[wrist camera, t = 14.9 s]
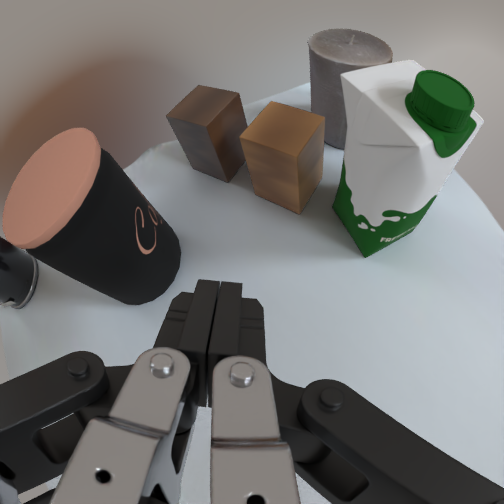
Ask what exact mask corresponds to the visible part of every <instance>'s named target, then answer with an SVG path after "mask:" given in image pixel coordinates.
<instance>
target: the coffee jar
mask: <svg viewBox="0 0 504 504" xmlns="http://www.w3.org/2000/svg"><path fill="white" fill-rule="evenodd" d="M3 231H4V234H5V236H6V239H7V241H9V242H10V243H12V244H13V245H15V246H16V247H18V248H21V249H26V251H27V252H28V253H29V254H30V255H32V256H33V257H35V258H36V259H38V260H40V261H42V262H43V263H45V264H47V265H49V266H51V267H52V268H54V269H56V270H58V271H60V272H62V273H64V274H66V275H67V276H69V277H71V278H73V279H75V280H77V281H79V282H81V283H83V284H85V285H87V286H89V287H91V288H93V289H95V290H97V291H99V292H102V293H104V294H106V295H108V296H110V297H112V298H114V299H116V300H119V301H121V302H123V303H125V304H131V305H140V304H144V303H147V302H150V301H153V300H155V299H156V298H157V297H159V296H160V295H162V294H163V293H164V292H165V291H166V290H167V289H168V287H169V286H170V285H171V284H172V282H173V281H174V279H175V276H176V274H177V272H178V269H179V265H180V257H181V250H180V245H179V240H178V238H177V236H176V235H175V233H174V231H173V229H172V228H171V227H170V226H169V225H168V224H167V222H166V221H165V220H164V219H163V218H162V217H161V215H160V214H159V213H158V212H157V211H156V210H155V208H154V207H153V206H152V205H151V204H150V202H149V201H148V200H147V199H146V198H145V196H144V195H143V194H142V193H141V192H140V190H139V189H138V188H137V187H136V186H135V184H134V183H133V182H132V181H131V180H130V178H129V177H128V176H127V175H126V173H125V172H124V171H123V170H122V168H121V167H120V166H119V165H118V164H117V162H116V161H115V160H114V159H113V157H112V156H111V155H110V154H109V153H108V152H107V151H105V150H103V149H102V148H100V146H99V143H98V141H97V139H96V137H95V135H94V134H93V133H92V132H90V131H89V130H87V129H85V128H72V129H70V130H67V131H64V132H62V133H60V134H58V135H57V136H55V137H53V138H52V139H50V140H49V141H47V142H46V143H45V144H44V145H43V146H42V147H41V148H40V149H39V150H37V151H36V152H35V153H34V154H33V155H32V157H31V158H30V159H29V160H28V162H27V163H26V164H25V165H24V167H23V168H22V170H21V171H20V173H19V174H18V176H17V178H16V179H15V181H14V183H13V185H12V187H11V189H10V192H9V194H8V197H7V199H6V203H5V207H4V212H3Z"/></svg>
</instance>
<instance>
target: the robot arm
mask: <svg viewBox="0 0 504 504" xmlns="http://www.w3.org/2000/svg"><path fill="white" fill-rule="evenodd" d="M37 276H38V267H37V262H36V259H35V258H34V257H33V256H32V255H30V254H29V253H27V252H24V251H23V250H21V249H19V248H18V247H16V246H15V245H13V244H11V243H10V242H8V241H6V240H5V239H3V238H1V237H0V302H2V303H3V304H0V305H2V306H4V307H5V306H11V307H13V308H16V309H19V308H22V307H23V306H25V305H26V304H27V303H28V301H29V300H30V298H31V296H32V294H33V292H34V289H35V286H36V282H37ZM207 397H208V407H211V408H212V419H211V458H210V498H211V504H301V502H300V497H299V491H298V486H297V480H296V475H295V472H296V473H297V474H298V475H299V476H300V477H301V478H302V479H303V480H305V481H306V482H307V483H308V484H309V485H310V486H311V487H313V488H314V489H315V490H316V491H317V492H318V493H320V494H321V495H322V496H323V497H324V498H326V499H327V500H328V501H329V502H331V503H332V504H504V488H503V487H501V486H499V485H497V484H496V483H494V482H492V481H490V480H489V479H487V478H485V477H483V476H482V475H480V474H478V473H477V472H475V471H473V470H472V469H470V468H468V467H467V466H465V465H464V464H462V463H460V462H459V461H457V460H455V459H454V458H452V457H451V456H449V455H447V454H446V453H444V452H443V451H441V450H440V449H438V448H437V447H435V446H433V445H432V444H430V443H429V442H427V441H426V440H424V439H423V438H421V437H420V436H418V435H417V434H415V433H414V432H412V431H411V430H409V429H408V428H406V427H405V426H403V425H402V424H401V423H399V422H398V421H396V420H395V419H393V418H392V417H390V416H389V415H387V414H386V413H385V412H383V411H382V410H380V409H379V408H378V407H376V406H375V405H373V404H372V403H370V402H369V401H368V400H366V399H365V398H364V397H362V396H361V395H359V394H358V393H357V392H355V391H354V390H352V389H351V388H350V387H348V386H347V385H345V384H343V383H341V382H339V381H336V380H330V379H322V380H317V381H314V382H312V383H310V384H309V385H308V386H306V388H302V387H298V386H294V385H291V384H288V383H285V382H283V381H281V380H279V379H278V378H276V377H275V376H274V375H273V374H272V373H271V372H270V371H269V369H268V367H267V364H266V349H265V329H264V310H263V307H262V306H261V304H260V303H259V301H258V300H257V299H252V298H242V283H234V282H223V281H221V285H220V281H212V280H201V279H199V280H198V282H197V285H196V288H195V291H194V293H188V292H181V293H180V294H179V295H178V296H176V297H175V298H174V299H173V300H172V302H171V304H170V307H169V310H168V312H167V314H166V317H165V319H164V321H163V324H162V326H161V329H160V331H159V334H158V336H157V339H156V341H155V344H154V346H153V348H152V349H149V350H147V351H145V352H144V353H142V354H141V355H140V356H139V357H138V359H137V360H136V362H135V364H132V365H127V366H112V367H105V366H104V363H103V361H102V359H101V358H100V357H99V356H97V355H96V354H94V353H91V352H87V351H77V352H73V353H70V354H68V355H65V356H63V357H61V358H59V359H57V360H54V361H52V362H50V363H48V364H46V365H43V366H41V367H39V368H37V369H34V370H32V371H30V372H28V373H25V374H23V375H21V376H19V377H16V378H14V379H12V380H10V381H7V382H5V383H3V384H0V504H21V502H20V500H19V498H18V494H21V493H23V492H25V491H27V490H30V489H32V488H34V487H36V486H38V485H41V484H42V483H45V482H47V481H49V480H51V479H53V478H55V477H57V476H59V475H61V474H62V476H61V478H60V481H59V483H58V485H57V487H56V488H54V489H51V490H49V491H47V492H45V493H44V494H42V495H40V496H38V497H36V498H34V499H32V500H30V501H28V502H26V503H24V504H179V500H180V493H181V479H182V474H183V470H184V466H185V463H186V459H187V455H188V451H189V447H190V443H191V439H192V435H193V431H194V427H195V424H194V422H195V420H196V415H197V408H198V406H201V407H206V404H207ZM72 413H74V414H72ZM70 414H72V415H70ZM68 415H70V416H68ZM66 416H68V417H66ZM64 417H66V418H64ZM62 418H64V419H62ZM60 419H62V420H60ZM58 420H60V421H58ZM56 421H58V422H56ZM54 422H56V423H54ZM52 423H54V424H52ZM50 424H52V425H50ZM48 425H50V426H48ZM46 426H48V427H46ZM44 427H46V428H44ZM41 428H43V429H41Z"/></svg>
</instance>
